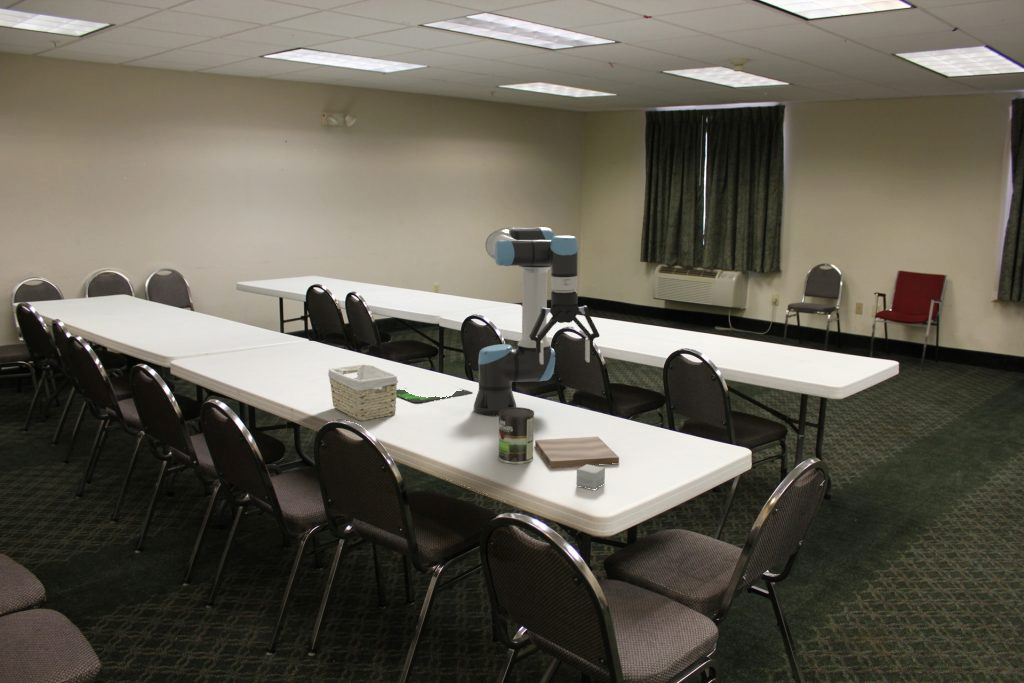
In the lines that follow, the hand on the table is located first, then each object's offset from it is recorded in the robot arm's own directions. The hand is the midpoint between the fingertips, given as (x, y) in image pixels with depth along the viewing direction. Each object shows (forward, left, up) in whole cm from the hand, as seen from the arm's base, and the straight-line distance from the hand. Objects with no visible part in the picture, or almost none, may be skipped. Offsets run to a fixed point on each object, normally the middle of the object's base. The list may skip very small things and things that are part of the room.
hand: (564, 362), depth 230 cm
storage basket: (-56, -58, -28) cm, 85 cm away
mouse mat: (-79, -32, -28) cm, 90 cm away
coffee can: (+3, -15, -28) cm, 32 cm away
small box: (+28, 0, -28) cm, 39 cm away
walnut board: (+3, +3, -28) cm, 28 cm away
